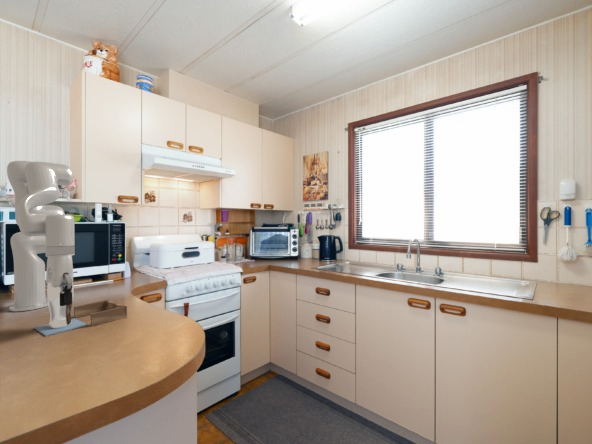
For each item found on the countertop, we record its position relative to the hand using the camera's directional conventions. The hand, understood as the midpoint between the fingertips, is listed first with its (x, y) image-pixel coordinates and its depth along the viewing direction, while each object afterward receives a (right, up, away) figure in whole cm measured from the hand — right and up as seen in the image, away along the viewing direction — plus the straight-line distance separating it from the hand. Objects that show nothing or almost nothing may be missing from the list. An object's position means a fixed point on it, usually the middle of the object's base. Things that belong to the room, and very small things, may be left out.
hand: (60, 302), depth 96 cm
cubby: (+7, -8, +9) cm, 14 cm away
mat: (0, -8, 0) cm, 8 cm away
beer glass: (0, -8, 0) cm, 8 cm away
